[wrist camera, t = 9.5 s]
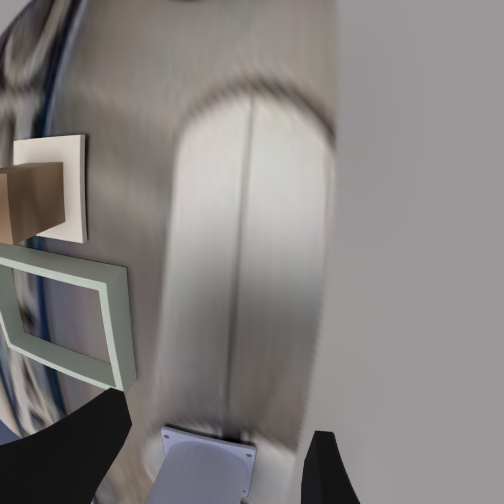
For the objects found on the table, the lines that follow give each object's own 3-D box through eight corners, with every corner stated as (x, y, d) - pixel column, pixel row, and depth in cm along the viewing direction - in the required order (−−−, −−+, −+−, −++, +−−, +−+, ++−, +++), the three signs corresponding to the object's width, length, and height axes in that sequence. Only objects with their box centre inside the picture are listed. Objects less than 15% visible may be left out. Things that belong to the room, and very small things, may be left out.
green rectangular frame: (138, 375, 23) (124, 395, 21) (24, 333, 25) (8, 346, 22) (126, 267, 20) (105, 283, 17) (4, 242, 21) (-17, 252, 19)
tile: (87, 240, 20) (82, 243, 19) (22, 230, 21) (18, 232, 20) (85, 134, 17) (80, 134, 17) (18, 140, 18) (14, 141, 18)
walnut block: (65, 221, 19) (13, 245, 14) (28, 217, 19) (-21, 237, 15) (63, 162, 18) (6, 173, 13) (25, 163, 18) (-27, 174, 13)
